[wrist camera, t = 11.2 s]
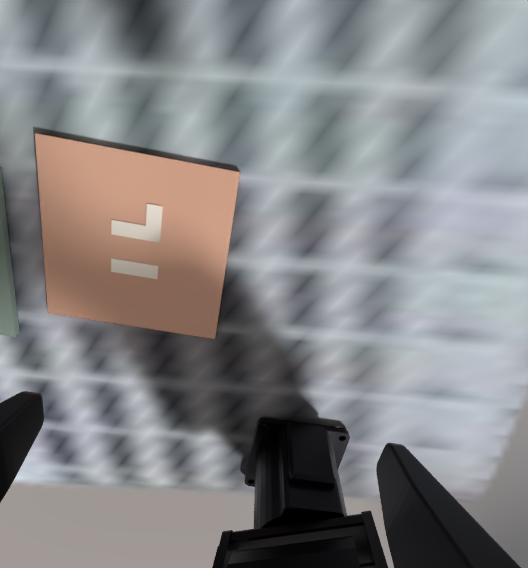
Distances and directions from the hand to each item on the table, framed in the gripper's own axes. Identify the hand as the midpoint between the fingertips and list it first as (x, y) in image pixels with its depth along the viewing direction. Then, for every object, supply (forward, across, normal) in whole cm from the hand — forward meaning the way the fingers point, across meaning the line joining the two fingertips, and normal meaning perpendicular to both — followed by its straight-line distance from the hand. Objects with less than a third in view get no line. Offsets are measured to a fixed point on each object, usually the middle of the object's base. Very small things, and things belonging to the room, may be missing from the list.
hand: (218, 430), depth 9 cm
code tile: (+12, +6, 0) cm, 13 cm away
